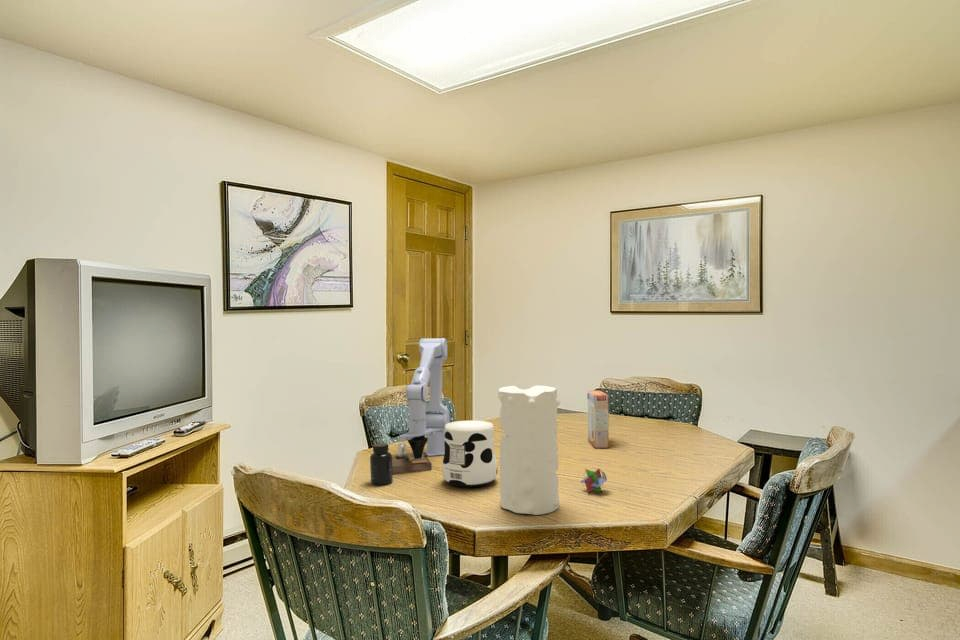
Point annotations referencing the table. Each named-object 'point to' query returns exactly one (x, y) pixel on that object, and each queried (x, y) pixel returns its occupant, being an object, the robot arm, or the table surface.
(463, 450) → the milk container
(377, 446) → the supplement bottle
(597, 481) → the geometric puzzle
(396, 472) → the brown board with hole
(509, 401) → the vase
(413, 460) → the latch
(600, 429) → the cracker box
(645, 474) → the table surface
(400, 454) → the steel pin
